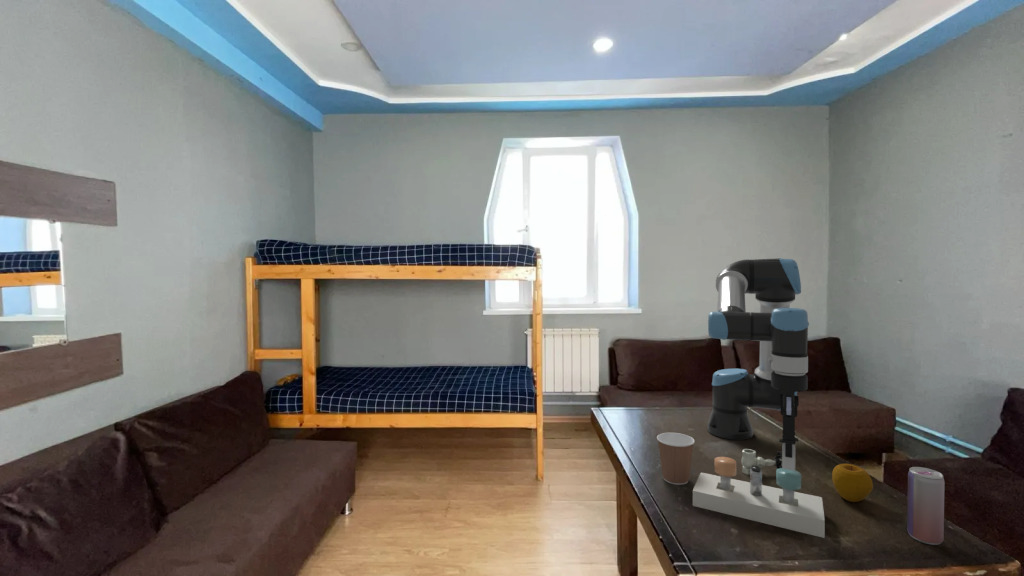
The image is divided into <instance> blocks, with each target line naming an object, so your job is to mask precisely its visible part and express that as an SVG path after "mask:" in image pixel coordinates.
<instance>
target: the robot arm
mask: <svg viewBox="0 0 1024 576" xmlns="http://www.w3.org/2000/svg"><path fill="white" fill-rule="evenodd" d="M715 288H716V291H717V292H718V293H717V305H716V306H717V309H716V311H711V312H709V313H708V320H707V321H708V322H707V323H708V324H707V326H708V327H707V329H708V330H707V331H708V336H709V337H710V338H711V339H719V340H724V341H726V340H728V341H729V340H731V341H732V340H734V341H736V340H737V341H756V342H757V341H758V342H759V365H758V366H757V367H756V368H754V374H749V372H748V370H747V369H744V368H738V367H737V368H724V369H718V370H717V371H715V372H713V374H712V382H711V386H712V411H711V413H710V416H709V418H708V422H707V431H708V432H709V433H710V434H711V435H713V436H716V437H719V438H722V439H727V440H737V441H739V440H741V441H742V440H748V439H751V438H752V437H754V429H753V426H752V422H751V421H750V417H749V415H748V414H749V413H748V408H749V407H750V408H756V409H757V408H758V409H765V410H766V409H767V410H776V411H780V415H781V416H782V439H781V438H779V439H778V442H779V443H781V446H782V447H781V452H782V457H781V460H782V469H788V470H793V471H796V442H799V438H798V437H796V432H795V431H796V418H797V417H798V408H799V399H800V398H799V395H798V392H799V393H801V392H805V391H807V390H808V387H809V386H808V384H809V383H808V375H807V373H808V372H809V356H808V342H809V341H808V339H809V337H808V336H809V335H808V334H809V325H810V323H809V317H808V315H809V314H808V311H807V310H806V309H804V308H797V307H796V308H795V307H791V306H790V305H791V304H792V303H794V301H795V300H796V295H800V294H801V293H802V282H801V276H800V271H799V265H798V263H797V261H796V260H794V259H793V258H761V259H759V258H758V259H756V258H755V259H749V258H748V259H741V260H736V261H734V262H732V263H730V264H728V265H727V266H726V267H724V268H723V269H722V270H721V271H720V272H719V273H718V275H717V276H716V279H715ZM746 294H748V295H749V294H750V295H752V294H753V295H755V300H756V301H757V302H759V305H760V308H759V309H760V311H759V312H749V311H748V312H746V311H747V308H746Z"/></svg>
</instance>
